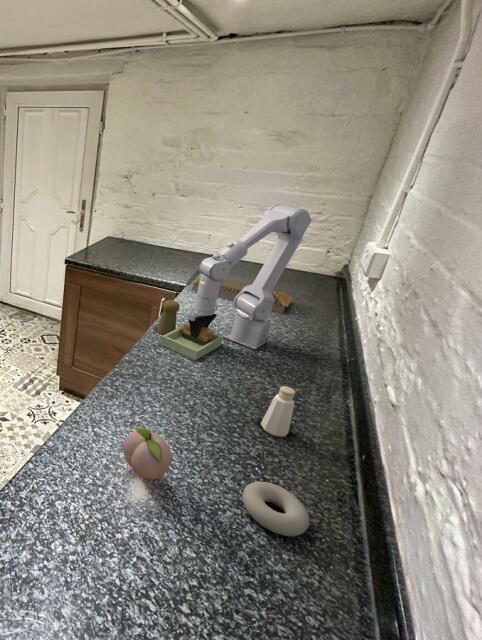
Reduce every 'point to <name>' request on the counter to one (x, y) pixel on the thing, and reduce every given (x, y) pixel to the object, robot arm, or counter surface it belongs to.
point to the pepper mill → (168, 317)
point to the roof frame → (239, 287)
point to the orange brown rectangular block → (204, 334)
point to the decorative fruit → (147, 453)
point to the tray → (189, 344)
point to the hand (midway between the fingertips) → (197, 334)
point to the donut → (276, 522)
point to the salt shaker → (279, 413)
